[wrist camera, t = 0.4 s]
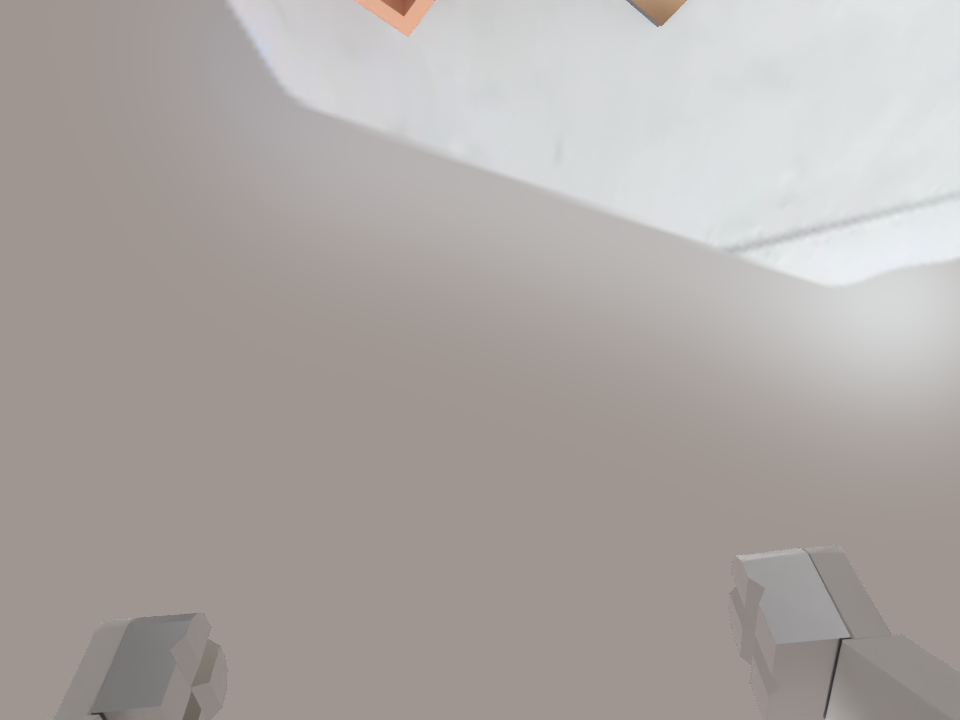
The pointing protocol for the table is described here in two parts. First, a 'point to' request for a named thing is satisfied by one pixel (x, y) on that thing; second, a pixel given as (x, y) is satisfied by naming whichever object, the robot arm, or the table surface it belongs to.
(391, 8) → the pink shallow box
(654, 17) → the lid
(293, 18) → the table surface
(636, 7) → the mat
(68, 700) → the robot arm
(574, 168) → the table surface
